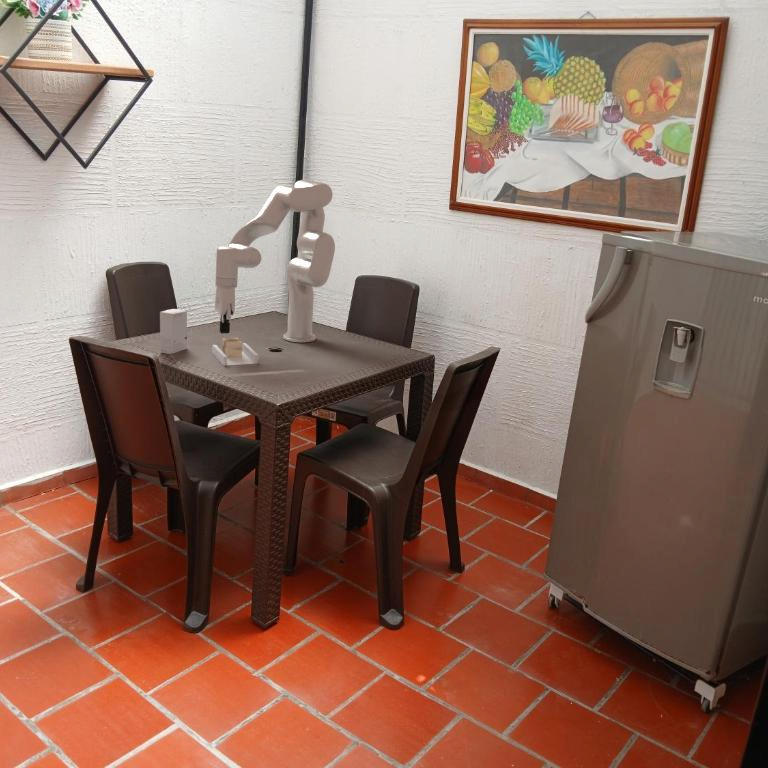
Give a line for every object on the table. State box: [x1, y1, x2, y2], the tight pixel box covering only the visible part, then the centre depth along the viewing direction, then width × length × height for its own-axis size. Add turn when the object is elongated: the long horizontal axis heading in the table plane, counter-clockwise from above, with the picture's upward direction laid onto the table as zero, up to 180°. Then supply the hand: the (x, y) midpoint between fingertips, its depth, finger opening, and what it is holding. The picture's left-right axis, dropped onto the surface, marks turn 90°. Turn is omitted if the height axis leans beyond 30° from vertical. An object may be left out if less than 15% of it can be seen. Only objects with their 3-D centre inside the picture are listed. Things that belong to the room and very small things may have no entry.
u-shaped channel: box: [212, 342, 259, 366], centre depth 280 cm, size 15×12×4 cm
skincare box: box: [159, 308, 188, 356], centre depth 283 cm, size 8×6×15 cm
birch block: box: [221, 337, 243, 358], centre depth 283 cm, size 6×6×6 cm
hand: (224, 332), depth 288 cm, fingers closed
